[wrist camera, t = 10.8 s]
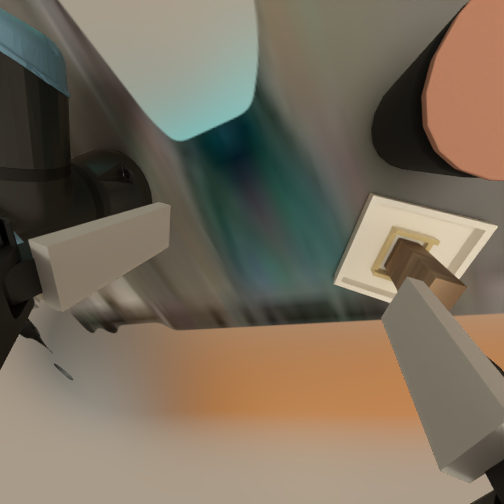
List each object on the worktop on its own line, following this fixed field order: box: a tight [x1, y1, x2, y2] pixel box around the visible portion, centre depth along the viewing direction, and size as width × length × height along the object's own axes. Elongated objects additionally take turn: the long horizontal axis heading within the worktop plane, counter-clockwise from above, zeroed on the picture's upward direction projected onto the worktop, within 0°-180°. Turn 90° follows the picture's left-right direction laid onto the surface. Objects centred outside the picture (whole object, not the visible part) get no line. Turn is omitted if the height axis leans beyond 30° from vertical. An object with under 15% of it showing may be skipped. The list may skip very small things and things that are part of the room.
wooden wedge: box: [384, 238, 467, 311], centre depth 27 cm, size 3×5×12 cm, turn 167°
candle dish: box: [334, 193, 498, 303], centre depth 31 cm, size 14×14×3 cm
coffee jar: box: [372, 0, 504, 181], centre depth 18 cm, size 11×11×18 cm
